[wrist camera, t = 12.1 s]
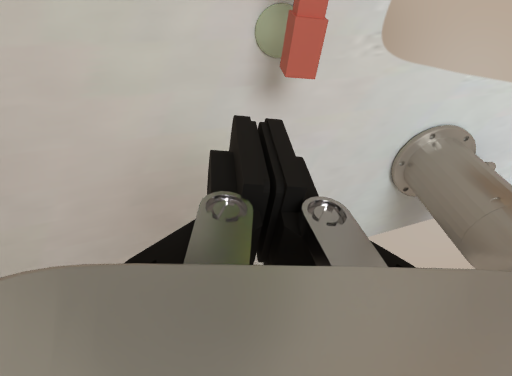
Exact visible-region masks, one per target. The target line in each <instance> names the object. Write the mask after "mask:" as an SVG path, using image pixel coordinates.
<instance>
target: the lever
mask: <svg viewBox="0 0 512 376" xmlns="http://www.w3.org/2000/svg"><path fill="white" fill-rule="evenodd" d="M327 5H328V0H294V4H293V10H289V13H288V19H287V25H286V31H285V37H284V44H283V50H282V56H281V62H280V68H281V70H282V72H283V73H284V75H285V77H292V78H305V79H315V77H316V72H317V68H318V63H319V59H320V55H321V50H322V46H323V42H324V37H325V33H326V28H327V24H328V20H327V19H326V18H325V14H326V9H327Z"/></svg>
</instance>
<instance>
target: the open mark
mask: <svg viewBox="0 0 512 376" xmlns="http://www.w3.org/2000/svg"><path fill="white" fill-rule="evenodd" d="M289 10H293V6H291V5H289V4H285V3H278V4H274V5H271V6H270V7H268V8H267V9H265V10H264V11H263V12H262V14H261V15H260V16H259V18H258V20H257V23H256V27H255V37H256V41H257V43H258V45H259V47H260V49H261V50H262V51H263V52H264V53H265V54H267V55H269V56H271V57H275V58H281V56H282V50H283V44H284V37H285V31H286V25H287V19H288V13H289Z"/></svg>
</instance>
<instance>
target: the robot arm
mask: <svg viewBox="0 0 512 376" xmlns="http://www.w3.org/2000/svg"><path fill="white" fill-rule="evenodd" d="M475 153H476V144H475V140H474V139H473V137H472V135H470V134H469V133H468V132H467V131H466V130H464V129H463V128H461V127H458V126H453V125H444V126H437V127H434V128H431V129H428V130H426V131H424V132H422V133H420V134H418V135H417V136H415V137H414V138H413V139H411V140H410V141H409V142H408V143H407V144H406V145H405V146H404V147H403V148H402V149H401V150H400V152H399V153H398V155H397V156H396V158H395V160H394V163H393V166H392V173H391V175H392V180H393V182H394V184H395V185H396V187H397V188H398V189H399V190H400V191H401V192H402V193H404V194H406V195H409V196H414V197H418V198H419V200H420V201H421V202H422V203H423V205H424V206H425V207H426V208H427V210H428V211H429V212H430V214H431V215H432V216H433V217H434V219H435V220H436V221H437V222H438V224H439V225H440V226H441V228H442V229H443V230H444V231H445V233H446V234H447V235H448V237H449V238H450V239H451V240H452V242H453V243H454V244H455V246H456V247H457V248H458V249H459V250H460V252H461V253H462V255H463V256H464V257H465V258H466V259H467V261H468V262H469V263H470V264H471V265H472V266H473V267H475V268H476V269H442V268H416V267H414V266H413V265H411V264H409V263H408V262H406V261H404V260H403V259H401V258H399V257H398V256H396V255H394V254H392V253H391V252H389V251H387V250H385V249H384V248H382V247H380V246H379V245H377V244H375V243H374V242H372V241H370V240H369V239H368V237H367V236H366V234H365V233H364V231H363V230H362V229H361V227H360V226H359V224H358V223H357V221H356V220H355V219H354V217H353V216H352V214H351V213H350V211H349V210H348V209H347V208H346V207H345V206H344V205H342V204H341V203H339V202H338V201H335V200H333V199H331V198H327V197H319V196H318V193H317V191H316V188H315V186H314V183H313V181H312V178H311V176H310V174H309V171H308V169H307V166H306V164H305V161H304V159H303V158H302V157H296V156H295V153H294V150H293V148H292V145H291V142H290V140H289V137H288V134H287V132H286V129H285V127H284V124H283V121H282V120H278V119H268V118H266V119H265V122H260V123H259V126H258V129H257V125H256V121H251V119H250V117H247V116H237V115H234V117H233V124H232V132H231V140H230V148H229V151H217V150H210V158H209V169H208V185H207V196H205V197H204V198H203V199H202V201H201V203H200V205H199V209H198V212H197V216H196V219H195V220H193V221H192V222H190V223H188V224H187V225H185V226H183V227H182V228H180V229H178V230H177V231H175V232H173V233H172V234H170V235H168V236H167V237H165V238H164V239H162V240H160V241H159V242H157V243H155V244H154V245H152V246H150V247H149V248H147V249H145V250H144V251H142V252H140V253H139V254H137V255H136V256H134V257H132V258H131V259H129V260H128V261H126V262H125V263H124V264H80V265H68V266H55V267H49V268H42V269H36V270H30V271H24V272H20V273H16V274H12V275H8V276H5V277H1V278H0V376H512V185H511V184H510V183H508V182H507V181H506V180H505V179H504V178H503V177H501V176H500V175H499V174H498V173H497V172H496V171H494V170H495V168H496V165H495V163H493V162H484V161H483V160H482V159H480V158H479V157H478V156H477V155H476V154H475ZM256 252H257V259H258V262H263V263H264V265H253V263H254V260H255V256H256Z"/></svg>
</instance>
